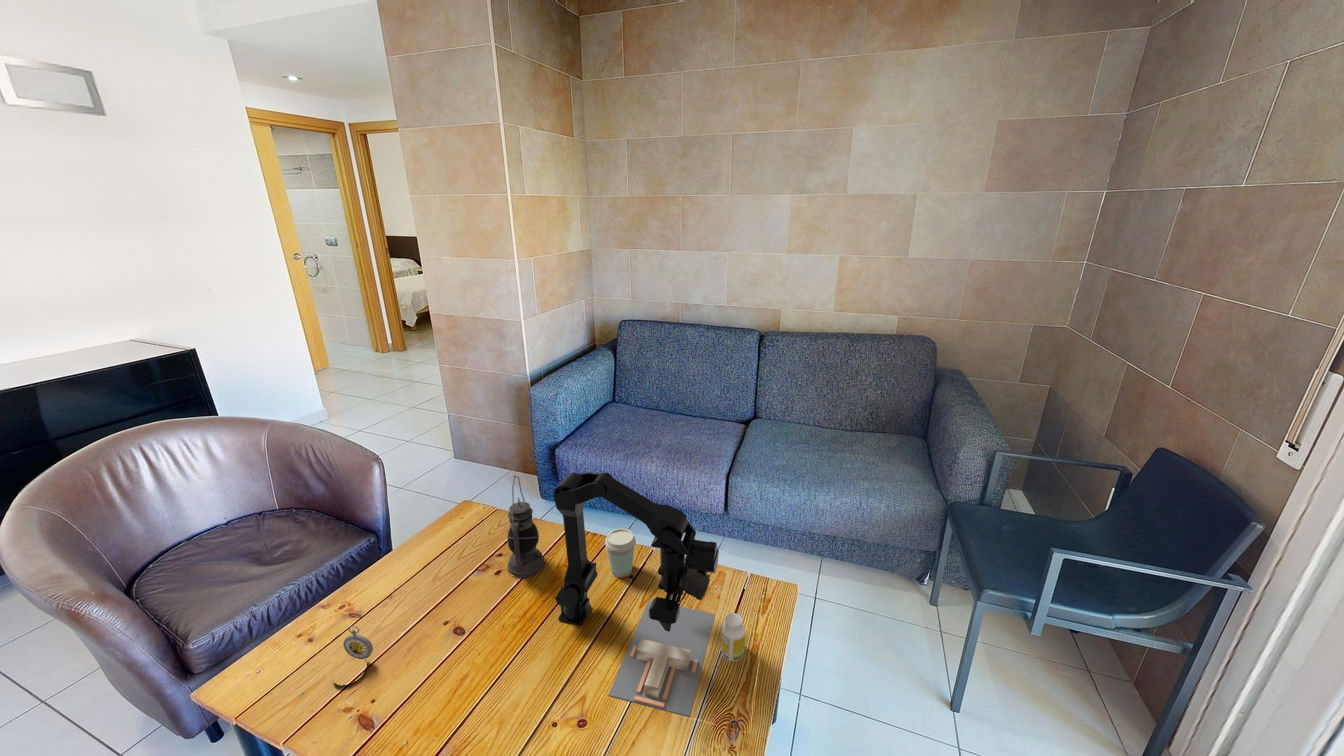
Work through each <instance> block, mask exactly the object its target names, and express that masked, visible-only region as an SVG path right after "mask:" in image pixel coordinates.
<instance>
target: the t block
mask: <svg viewBox="0 0 1344 756" xmlns="http://www.w3.org/2000/svg"><path fill="white" fill-rule="evenodd" d="M637 659H638V660H643V661H648V660H650V661H651V663H652V665H651V668H650V671H649V673H648V676H647V679H646V682H645V695H646V696H650V697H654V698H659V694H660V691H661V688H662V685H663V682H664V679H665V676H666V673H667V669H668V667H672V666H675V667H676V669H680V670H685V671H688V668H689V664H690V661H691V650H688V649H684V648H679V647H675V646H670V645H666V644H662V643H657V642H653V641H648V640H644V639H641V640H640V643H639V645H638V648H637Z"/></svg>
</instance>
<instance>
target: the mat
mask: <svg viewBox="0 0 1344 756" xmlns="http://www.w3.org/2000/svg"><path fill="white" fill-rule="evenodd" d="M652 601H653V600H650V599H649V600H647V603H646V606H645V607H644V610H643V613H642V615H641V617H640V620H639V622H638V624H637V627H636V628H635V631H634V633H633V635H632V638H631V641H630V643H629V646H628V648H627V651H626V653H625V655H624V657H623V659H622V661H621V665H620V667H619V669H618V671H617V674H616V676H615V678H614V681H613V683H612V685H611V688H610V690H609V693H608V694H607V696H608V697H611V698H614V699H618V700H621V701H625V702H629V703H633V704H637V705H641V706H644V707H648V708H651V709H654V710H655V709H656V710H659V711H664V712H667V713H670V714H674V715H679V716H682V717H687V718H689V719H690V718H691V714H692V710H693V706H694V703H695V702H694V701H695V697H696V694H697V690H698V686H699V682H700V677H701V673H702V668H703V665H704V661H705V656H706V655H707V654H706V653H707V649H708V646H709V642H710V641H709V640H710V637H711V632H712V629H713V625H714V620H715V616H716V614H715V613H712V612H706V611H703V610H698V609H692V608H688V607H683V606H680V610H679V611H680V612H679V615H678V618H677V621H676V623H674V624H672V625H671V629H670V632H669V631H665V629H664V628H663V627H662V625H661V624H660V622H659V621H657V620H653V619H650V617H649V609H650V606H651V604H652ZM641 639H644V640H648V641H653V642H657V643H662V644H666V645H670V646H675V647H679V648H684V649H688V650H691V661H690V664H689V668H688V671H685V670H680V669H676V667H675V666H672V667H668V669H667V673H666V676H665V679H664V682H663V685H662V688H661V691H660V694H659V698H654V697H650V696H646V695H645V682H646V679H647V676H648V673H649V671H650V668H651V665H652V663H651V661H650V660H648V661H643V660H638V659H637V648H638V645H639V643H640V640H641Z"/></svg>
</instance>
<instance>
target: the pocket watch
mask: <svg viewBox="0 0 1344 756" xmlns="http://www.w3.org/2000/svg"><path fill="white" fill-rule="evenodd" d="M351 628H356V629H357V631H356V630H355V629H353V630H352V631H351ZM348 631H349V632H350V635H348V636H347V637H346V638H345V639H343V648H344V650H345V652H346V653H347V654H348V655H349V656H351V657H352V658H353V659H356V658H358V659H364V658H365V660H366V659H368V658H369V657H370V656H371V655H372V653H373V650H374V646H373V643H372V642H371V641H370V640H369V639H368V638H367V637H366V636H364V635H361V634H359V633H360V628H359V627H358V626H356V625H351V626H349V627H348ZM357 633H358V634H357Z"/></svg>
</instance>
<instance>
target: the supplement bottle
mask: <svg viewBox="0 0 1344 756" xmlns="http://www.w3.org/2000/svg"><path fill="white" fill-rule="evenodd" d="M743 620H744V619H743V617H742V616H741V615H740V614H738V613H737V612H736V613H735V612H729V613H728V614H726V615H725V618H724V623H723V624H722V626H721V637H720V638H721V639H720V640H721V641H720V642H721V644H720V645H721V647H720V649H721V650H720V651H721V655H722V656H723V658H724V659H726V660H728V661H730V662H737V661H740V660H742V659H743V657H744V655H745V646H746V644H745V643H746V641H745V639H746V629H745V625H744V624H743V622H744V621H743Z"/></svg>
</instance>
